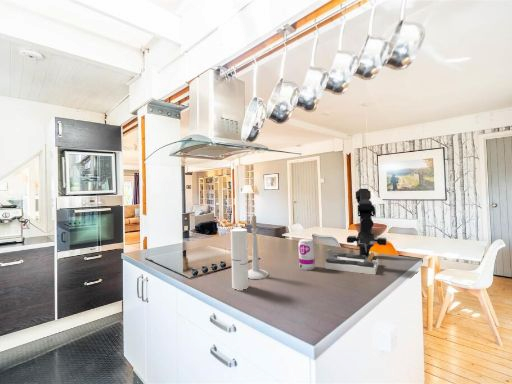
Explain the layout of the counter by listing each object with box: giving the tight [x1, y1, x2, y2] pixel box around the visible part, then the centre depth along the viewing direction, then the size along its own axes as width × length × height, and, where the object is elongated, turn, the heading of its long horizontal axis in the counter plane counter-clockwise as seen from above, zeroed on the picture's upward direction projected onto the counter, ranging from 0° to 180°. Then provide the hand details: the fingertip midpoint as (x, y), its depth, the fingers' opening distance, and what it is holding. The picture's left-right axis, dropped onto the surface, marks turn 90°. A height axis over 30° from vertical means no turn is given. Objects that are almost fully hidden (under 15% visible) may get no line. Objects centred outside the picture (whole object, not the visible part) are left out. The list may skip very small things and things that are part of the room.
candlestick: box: [248, 215, 270, 280], centre depth 129 cm, size 13×13×30 cm
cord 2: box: [333, 252, 378, 260], centre depth 145 cm, size 3×24×2 cm, turn 60°
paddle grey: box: [326, 248, 335, 257], centre depth 144 cm, size 4×2×5 cm, turn 150°
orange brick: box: [367, 251, 375, 260], centre depth 134 cm, size 4×2×5 cm, turn 150°
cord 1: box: [325, 258, 374, 267], centre depth 132 cm, size 3×24×2 cm, turn 61°
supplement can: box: [298, 238, 316, 271], centre depth 138 cm, size 8×8×15 cm
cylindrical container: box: [230, 228, 249, 291], centre depth 113 cm, size 7×7×25 cm
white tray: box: [324, 254, 379, 275], centre depth 138 cm, size 18×24×5 cm
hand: (366, 256), depth 135 cm, fingers closed
